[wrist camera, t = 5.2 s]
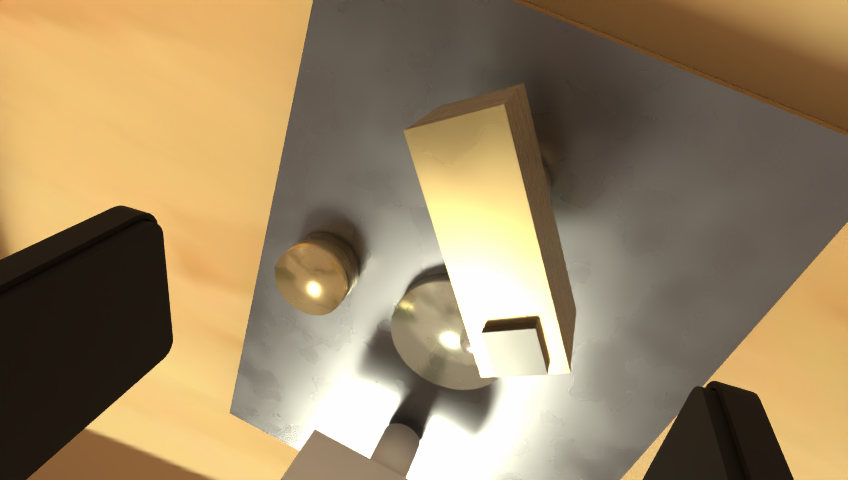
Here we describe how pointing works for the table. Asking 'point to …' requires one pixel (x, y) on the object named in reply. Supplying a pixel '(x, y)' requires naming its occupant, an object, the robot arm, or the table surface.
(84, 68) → the table surface
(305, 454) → the white t-shaped handle
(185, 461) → the table surface
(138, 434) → the table surface
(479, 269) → the wooden bar knob
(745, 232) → the levelling plate
